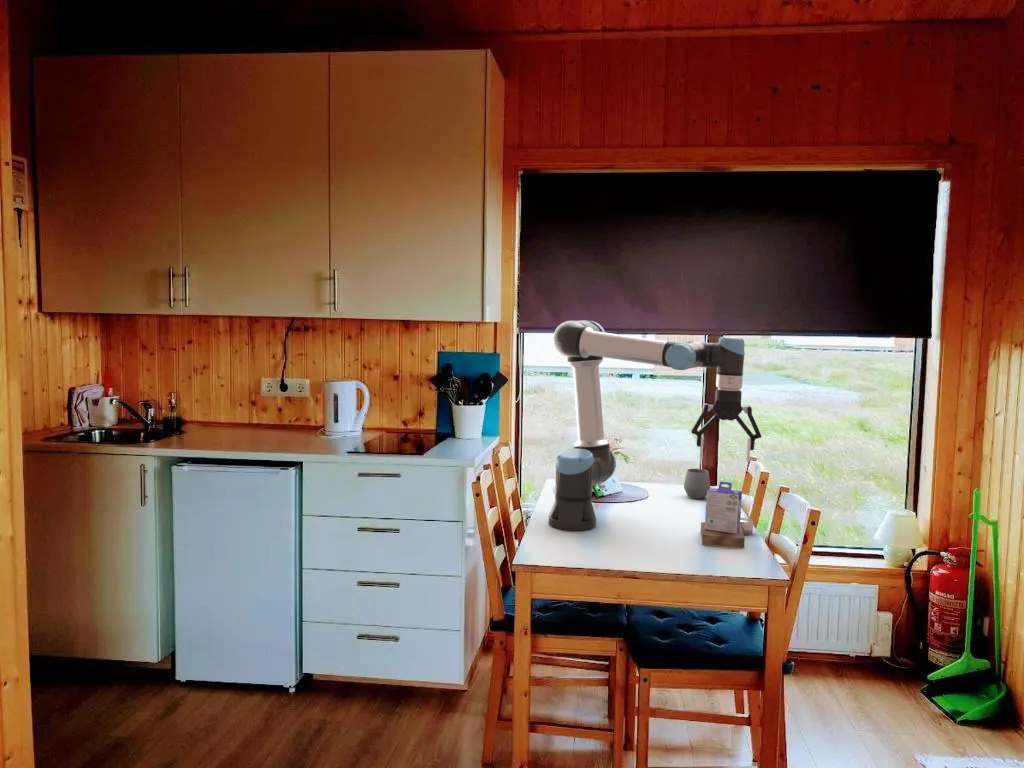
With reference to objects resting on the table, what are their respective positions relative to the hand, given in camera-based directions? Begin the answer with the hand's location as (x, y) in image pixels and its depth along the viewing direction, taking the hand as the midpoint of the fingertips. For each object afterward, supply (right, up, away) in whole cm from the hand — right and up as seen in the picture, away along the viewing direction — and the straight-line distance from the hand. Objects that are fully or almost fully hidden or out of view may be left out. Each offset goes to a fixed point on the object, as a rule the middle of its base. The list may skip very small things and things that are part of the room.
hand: (724, 459), depth 241 cm
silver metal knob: (+9, -24, +11) cm, 28 cm away
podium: (0, -25, +2) cm, 25 cm away
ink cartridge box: (0, -22, +2) cm, 22 cm away
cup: (+4, -19, +54) cm, 58 cm away
